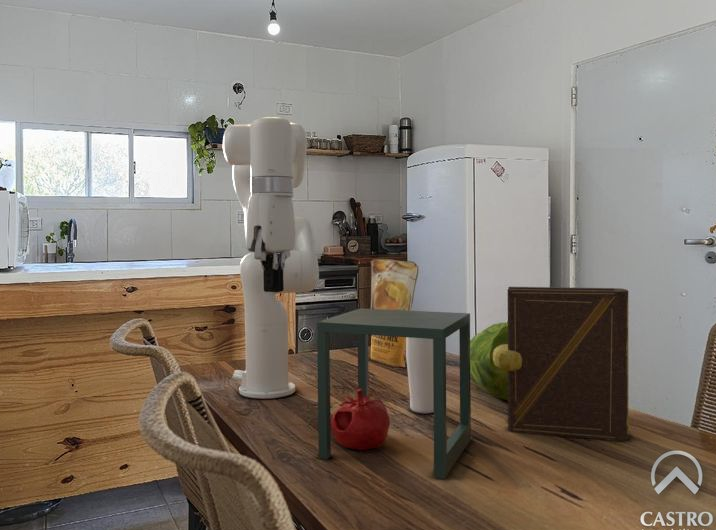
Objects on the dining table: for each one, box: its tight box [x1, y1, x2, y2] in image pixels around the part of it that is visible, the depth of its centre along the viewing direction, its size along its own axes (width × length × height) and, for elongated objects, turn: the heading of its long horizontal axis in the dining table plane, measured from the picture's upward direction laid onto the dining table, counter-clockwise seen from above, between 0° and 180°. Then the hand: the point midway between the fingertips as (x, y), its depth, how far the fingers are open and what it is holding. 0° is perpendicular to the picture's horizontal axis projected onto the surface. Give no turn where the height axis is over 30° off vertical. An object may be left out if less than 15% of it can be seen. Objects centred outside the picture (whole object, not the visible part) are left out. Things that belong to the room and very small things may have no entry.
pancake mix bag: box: [369, 258, 419, 368], centre depth 163 cm, size 7×19×28 cm, turn 28°
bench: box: [316, 307, 472, 480], centre depth 97 cm, size 20×18×22 cm
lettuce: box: [470, 321, 508, 402], centre depth 129 cm, size 17×23×16 cm
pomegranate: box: [330, 389, 391, 451], centre depth 100 cm, size 10×10×9 cm
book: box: [493, 286, 629, 442], centre depth 105 cm, size 22×8×25 cm, turn 71°
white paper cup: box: [405, 337, 434, 414], centre depth 118 cm, size 7×7×15 cm
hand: (273, 291), depth 107 cm, fingers closed
